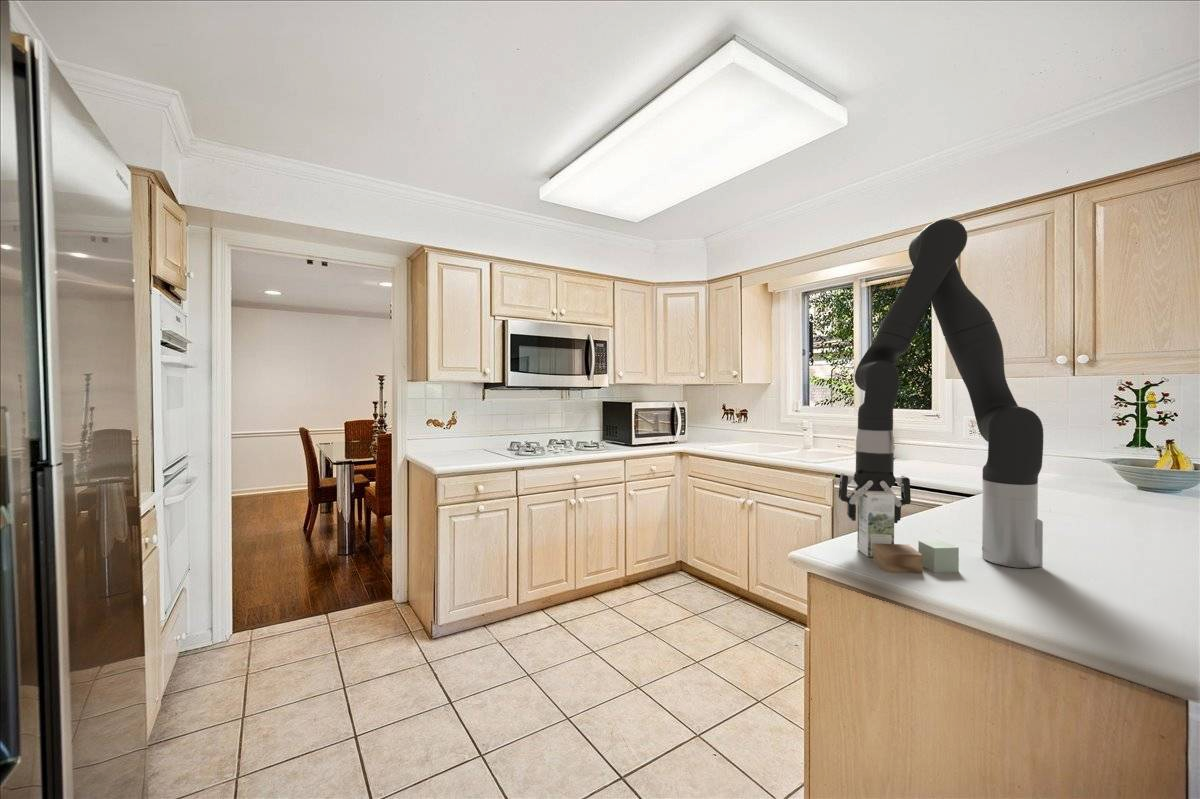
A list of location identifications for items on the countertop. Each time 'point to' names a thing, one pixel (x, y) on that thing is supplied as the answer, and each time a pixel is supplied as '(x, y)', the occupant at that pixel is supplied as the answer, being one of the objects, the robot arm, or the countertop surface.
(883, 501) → the syrup box
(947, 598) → the countertop surface
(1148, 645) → the countertop surface
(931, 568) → the grey-green cube
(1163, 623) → the countertop surface
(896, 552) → the walnut block
